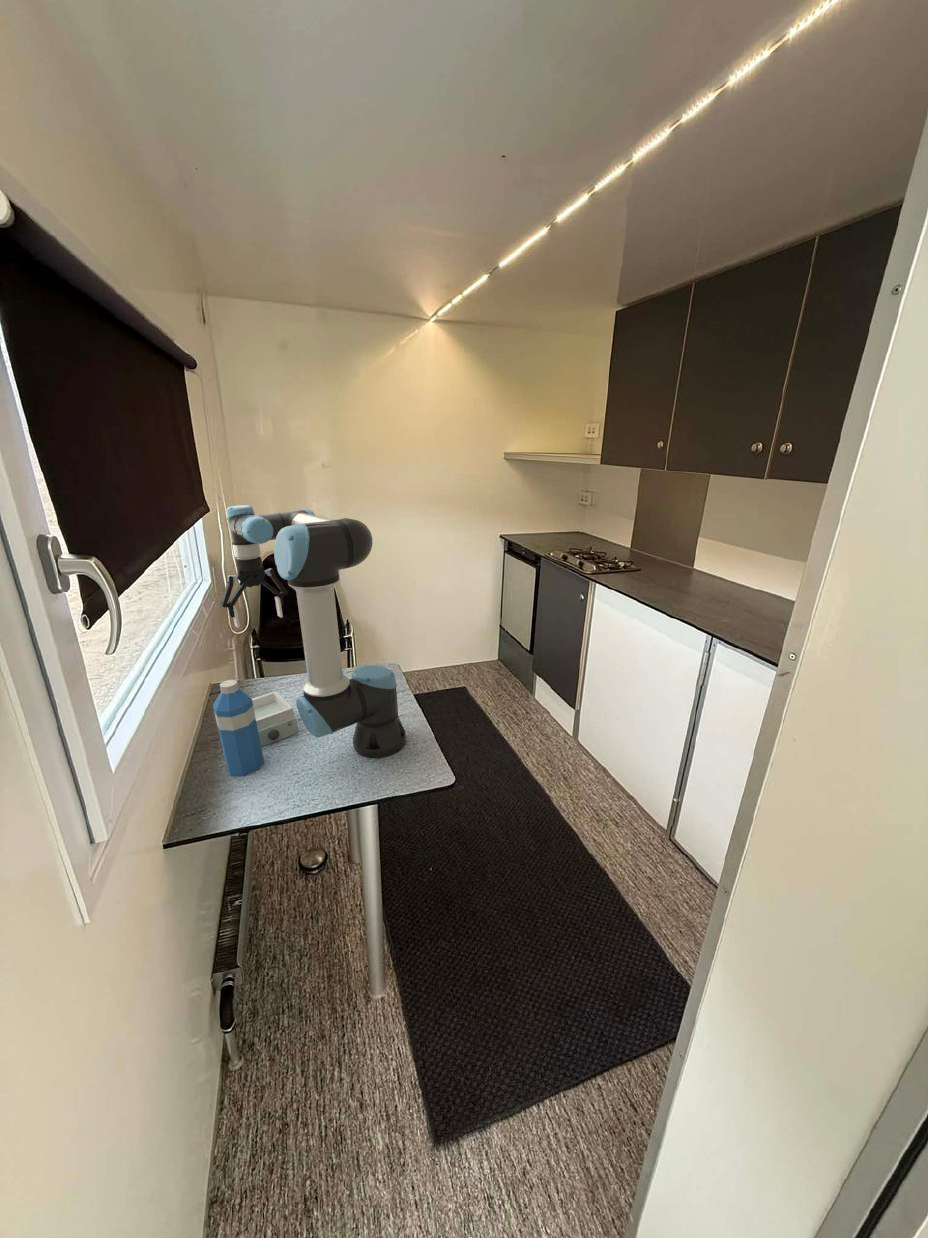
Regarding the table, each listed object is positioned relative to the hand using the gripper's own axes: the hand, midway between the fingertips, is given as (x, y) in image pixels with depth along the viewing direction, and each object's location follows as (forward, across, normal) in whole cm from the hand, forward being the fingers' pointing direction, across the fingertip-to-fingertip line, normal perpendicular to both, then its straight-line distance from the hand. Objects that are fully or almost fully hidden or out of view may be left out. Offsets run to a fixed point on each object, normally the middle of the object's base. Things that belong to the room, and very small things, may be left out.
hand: (259, 621), depth 155 cm
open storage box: (+28, +9, +19) cm, 35 cm away
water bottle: (+28, +19, +33) cm, 47 cm away
